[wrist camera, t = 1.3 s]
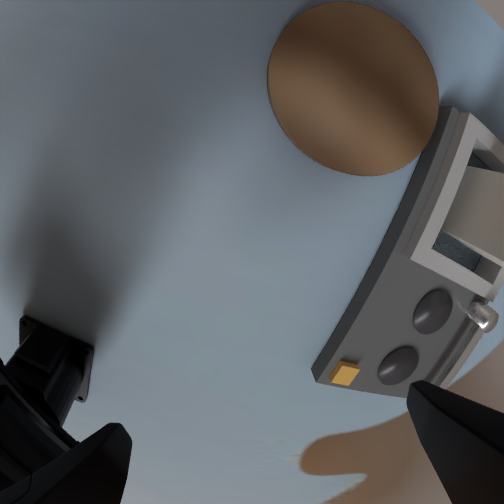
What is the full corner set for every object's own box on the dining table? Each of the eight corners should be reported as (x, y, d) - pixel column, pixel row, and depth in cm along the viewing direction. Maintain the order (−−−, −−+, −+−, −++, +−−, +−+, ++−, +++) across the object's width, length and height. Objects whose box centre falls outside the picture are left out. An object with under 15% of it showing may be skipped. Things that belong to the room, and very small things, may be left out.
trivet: (393, 202, 20) (402, 206, 18) (236, 127, 17) (237, 126, 16) (445, 66, 17) (455, 64, 16) (307, -19, 14) (311, -27, 13)
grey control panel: (416, 389, 26) (428, 406, 23) (310, 369, 23) (319, 391, 21) (523, 185, 20) (544, 192, 18) (438, 106, 18) (462, 105, 15)
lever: (415, 384, 26) (434, 412, 22) (402, 382, 25) (421, 411, 21) (473, 293, 23) (501, 314, 19) (462, 287, 22) (491, 309, 19)
